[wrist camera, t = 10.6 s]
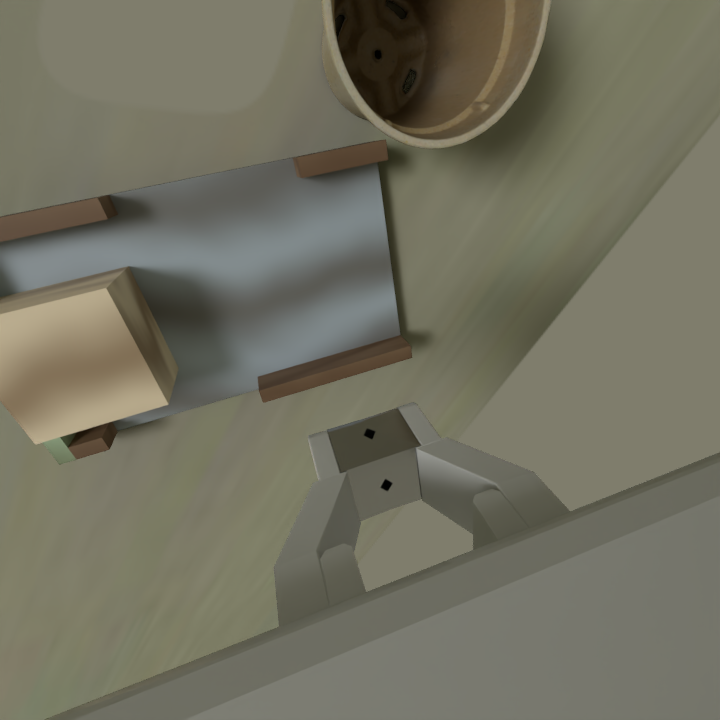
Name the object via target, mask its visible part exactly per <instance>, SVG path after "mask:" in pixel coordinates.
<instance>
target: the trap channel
mask: <svg viewBox="0 0 720 720" xmlns="http://www.w3.org/2000/svg"><path fill="white" fill-rule="evenodd" d="M385 160H388V153H387V144H386V140H380V141H373V142H367V143H362V144H357V145H352V146H347V147H342V148H338V149H333V150H328V151H323V152H318V153H313V154H308V155H303V156H298V157H293V158H288V159H283V160H278V161H273V162H268V163H263V164H258V165H253V166H248V167H243V168H239V169H234V170H229V171H224V172H219V173H214V174H209V175H204V176H199V177H194V178H189V179H184V180H179V181H174V182H169V183H164V184H159V185H154V186H149V187H144V188H139V189H135V190H130V191H125V192H120V193H115V194H110V195H105V196H100V197H95V198H90V199H85V200H80V201H75V202H70V203H65V204H60V205H55V206H50V207H45V208H40V209H36V210H31V211H26V212H21V213H16V214H11V215H6V216H1V217H0V297H3V296H7V295H11V294H15V293H19V292H24V291H28V290H32V289H36V288H40V287H44V286H48V285H53V284H57V283H61V282H65V281H69V280H73V279H77V278H82V277H86V276H90V275H94V274H98V273H102V272H106V271H111V270H115V269H119V268H123V267H127V266H129V268H130V270H131V272H132V274H133V276H134V278H135V280H136V282H137V284H138V286H139V288H140V290H141V292H142V294H143V296H144V298H145V300H146V302H147V305H148V307H149V309H150V311H151V313H152V315H153V317H154V319H155V321H156V323H157V325H158V327H159V329H160V331H161V333H162V335H163V337H164V339H165V341H166V343H167V345H168V347H169V349H170V351H171V353H172V356H173V358H174V360H175V362H176V364H177V366H178V368H179V369H178V372H177V376H176V380H175V383H174V387H173V390H172V394H171V398H170V401H169V405H166V406H162V407H159V408H156V409H152V410H149V411H146V412H142V413H139V414H136V415H132V416H129V417H126V418H122V419H119V420H116V421H112V422H109V423H106V424H102V425H99V426H96V427H92V428H89V429H86V430H82V431H79V432H76V433H72V434H69V435H66V436H62V437H59V438H56V439H52V440H49V441H46V442H42V443H43V444H44V445H45V447H46V448H47V449H48V451H49V452H50V453H51V454H52V456H53V457H54V458H55V460H56V461H57V462H58V463H59V465H60V464H63V463H66V462H70V461H73V460H76V459H80V458H83V457H86V456H90V455H93V454H96V453H99V452H103V451H106V450H109V449H110V447H111V445H112V443H113V440H114V438H115V436H116V434H117V431H119V430H122V429H126V428H129V427H132V426H136V425H139V424H142V423H146V422H149V421H152V420H156V419H159V418H163V417H166V416H169V415H173V414H176V413H179V412H183V411H186V410H190V409H193V408H196V407H200V406H203V405H206V404H210V403H213V402H216V401H220V400H223V399H227V398H230V397H233V396H237V395H240V394H243V393H247V392H250V391H254V390H257V389H259V392H260V395H261V398H262V401H263V403H264V402H268V401H271V400H274V399H278V398H281V397H284V396H287V395H291V394H294V393H297V392H301V391H304V390H307V389H310V388H314V387H317V386H320V385H324V384H327V383H330V382H334V381H337V380H340V379H343V378H347V377H350V376H353V375H357V374H360V373H363V372H367V371H370V370H373V369H376V368H380V367H383V366H386V365H390V364H393V363H396V362H400V361H403V360H406V359H409V358H412V353H411V346H410V345H409V343H408V342H407V341H406V340H405V339H404V338H403V337H402V336H401V335H400V328H399V320H398V313H397V305H396V298H395V290H394V283H393V275H392V268H391V260H390V253H389V245H388V238H387V230H386V223H385V215H384V208H383V200H382V192H381V185H380V177H379V170H378V162H380V161H385Z"/></svg>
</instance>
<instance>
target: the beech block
mask: <svg viewBox="0 0 720 720" xmlns="http://www.w3.org/2000/svg"><path fill="white" fill-rule="evenodd" d="M178 369H179V368H178V366H177V364H176V362H175V360H174V358H173V356H172V353H171V351H170V349H169V347H168V345H167V343H166V341H165V339H164V337H163V335H162V333H161V331H160V329H159V327H158V325H157V323H156V321H155V319H154V317H153V315H152V313H151V311H150V309H149V307H148V305H147V302H146V300H145V298H144V296H143V294H142V292H141V290H140V288H139V286H138V284H137V282H136V280H135V278H134V276H133V274H132V272H131V270H130V268H129V266H127V267H123V268H119V269H115V270H111V271H106V272H102V273H98V274H94V275H90V276H86V277H82V278H77V279H73V280H69V281H65V282H61V283H57V284H53V285H48V286H44V287H40V288H36V289H32V290H28V291H24V292H19V293H15V294H11V295H7V296H3V297H0V401H1V402H2V403H3V405H4V406H5V407H6V408H7V410H8V411H9V412H10V413H11V415H12V416H13V417H14V418H15V420H16V421H17V422H18V423H19V425H20V426H21V427H22V428H23V430H24V431H25V432H26V433H27V435H28V436H29V437H30V438H31V440H32V441H33V442H34V443H35V445H36V444H39V443H42V442H46V441H49V440H52V439H56V438H59V437H62V436H66V435H69V434H72V433H76V432H79V431H82V430H86V429H89V428H92V427H96V426H99V425H102V424H106V423H109V422H112V421H116V420H119V419H122V418H126V417H129V416H132V415H136V414H139V413H142V412H146V411H149V410H152V409H156V408H159V407H162V406H166V405H169V401H170V398H171V394H172V390H173V387H174V383H175V380H176V376H177V372H178Z"/></svg>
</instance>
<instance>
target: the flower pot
mask: <svg viewBox="0 0 720 720" xmlns="http://www.w3.org/2000/svg"><path fill="white" fill-rule="evenodd" d="M386 1H387V0H322V12H323V22H324V32H323V39H322V57H323V64H324V69H325V73H326V76H327V80H328V82H329V84H330V87H331V89H332V91H333V93H334V94H335V96H336V98H337V99H338V100H339V101H340V102H341V104H342V105H343V106H344V107H345V108H346V109H348V110H349V111H350V112H351V113H353V114H355V115H356V116H358V117H360V118H363V119H366V120H369V121H370V122H371V123H372V124H373V125H374V126H375V127H376V128H378V129H379V130H380V131H382V132H383V133H384V134H386V135H387V136H389V137H391V138H393V139H395V140H397V141H399V142H402V143H404V144H406V145H410V146H414V147H418V148H426V149H439V148H447V147H452V146H455V145H459V144H462V143H465V142H467V141H469V140H471V139H473V138H475V137H476V136H478V135H480V134H482V133H483V132H485V131H486V130H487V129H489V128H490V127H491V126H492V125H494V124H495V123H496V122H497V121H498V120H499V119H500V118H501V117H502V116H503V115H504V114H505V113H506V112H507V110H508V109H509V108H510V107H511V106H512V104H513V103H514V102H515V101H516V100H517V98H518V97H519V95H520V93H521V92H522V90H523V88H524V87H525V85H526V83H527V81H528V79H529V77H530V76H531V73H532V70H533V69H534V66H535V64H536V62H537V59H538V56H539V53H540V51H541V48H542V44H543V41H544V38H545V33H546V28H547V21H548V17H549V13H550V6H551V0H388V1H390V2H394V3H395V4H396V5H398V6H400V7H401V8H402V9H403V10H404V11H405V13H406V15H407V16H406V18H404V19H400V18H399V17H398V16H397V14H396V13H395V12H394V11H392V10H391V9H390V8H388V7H387V5H386ZM341 14H342V15H344V17H345V20H344V22H343V24H342V26H341V29H340V32H339V35H338V38H337V36H336V29H335V19H336V17H337V16H339V15H341ZM376 50H379V51H381V53H382V56H381V58H380V59H376V58H375V55H374V52H375V51H376ZM410 70H414V71H415V73H416V77H415V80H414V82H413V84H412V85H411V86H410V88H409V91H408V92H406V93H405V92H404V91H403V90H402V87H403V85H404V83H405V80H406V78H407V77H408V74H409V71H410Z"/></svg>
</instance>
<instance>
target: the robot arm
mask: <svg viewBox="0 0 720 720" xmlns="http://www.w3.org/2000/svg"><path fill="white" fill-rule="evenodd" d="M308 441H309V445H310V449H311V453H312V457H313V461H314V465H315V469H316V473H317V476H318V480H319V481H317V482H314V483H313V484H312V486H311V488H310V491H309V493H308V495H307V497H306V499H305V501H304V503H303V506H302V508H301V510H300V512H299V514H298V516H297V518H296V521H295V523H294V525H293V527H292V529H291V531H290V534H289V536H288V538H287V540H286V542H285V544H284V546H283V549H282V551H281V553H280V555H279V557H278V559H277V561H276V564H275V566H274V576H275V587H276V598H277V609H278V621H279V627H277V628H275V629H272V630H270V631H267V632H264V633H262V634H259V635H257V636H254V637H252V638H249V639H247V640H244V641H242V642H239V643H237V644H234V645H232V646H229V647H227V648H224V649H221V650H219V651H216V652H214V653H211V654H209V655H206V656H204V657H201V658H199V659H196V660H194V661H191V662H189V663H186V664H184V665H181V666H178V667H176V668H173V669H171V670H168V671H166V672H163V673H161V674H158V675H156V676H153V677H151V678H148V679H146V680H143V681H141V682H138V683H135V684H133V685H130V686H128V687H125V688H123V689H120V690H118V691H115V692H113V693H110V694H108V695H105V696H103V697H100V698H98V699H95V700H92V701H90V702H87V703H85V704H82V705H80V706H77V707H75V708H72V709H70V710H67V711H65V712H62V713H60V714H57V715H55V716H52V717H49V718H47V719H44V720H720V453H717V454H714V455H712V456H709V457H707V458H704V459H702V460H699V461H697V462H694V463H692V464H689V465H687V466H684V467H682V468H679V469H677V470H674V471H671V472H669V473H667V474H664V475H662V476H659V477H656V478H654V479H651V480H649V481H647V482H644V483H641V484H639V485H636V486H634V487H631V488H628V489H626V490H623V491H621V492H618V493H616V494H613V495H611V496H608V497H606V498H603V499H601V500H598V501H596V502H593V503H591V504H588V505H586V506H583V507H580V508H578V509H575V510H573V511H569V510H568V509H567V507H566V506H565V505H564V504H563V503H562V502H561V501H560V500H559V499H558V498H557V497H556V496H555V495H554V493H553V492H552V491H551V490H550V489H549V488H548V487H547V486H546V485H545V484H544V482H542V480H541V479H540V478H539V477H538V476H537V475H536V474H535V473H534V472H533V471H530V470H528V469H525V468H523V467H520V466H518V465H515V464H513V463H510V462H508V461H505V460H503V459H500V458H498V457H495V456H492V455H490V454H488V453H485V452H483V451H480V450H477V449H475V448H473V447H470V446H467V445H465V444H462V443H460V442H458V441H455V440H453V439H450V438H447V437H446V438H443V439H441V437H440V436H439V434H438V433H437V432H436V430H435V429H434V427H433V426H432V425H431V423H430V422H429V421H428V419H427V418H426V416H425V415H424V414H423V412H422V411H421V409H420V408H419V407H418V405H417V404H416V403H414V402H412V403H409V404H406V405H403V406H400V407H397V408H396V409H392V410H389V411H386V412H383V413H380V414H377V415H374V416H371V417H368V418H365V419H362V420H358V421H355V422H352V423H348V424H345V425H341V426H338V427H335V428H331V429H328V430H327V431H322V432H319V433H316V434H312V435H309V436H308ZM420 499H422V500H423V501H424V502H426V503H427V504H429V505H430V506H431V507H433V508H434V509H436V510H438V511H439V512H440V513H442V514H443V515H445V516H446V517H448V518H449V519H451V520H452V521H454V522H455V523H457V524H458V525H460V526H461V527H463V528H465V529H466V530H467V531H469V532H470V533H472V534H473V550H472V551H470V552H467V553H465V554H462V555H460V556H457V557H454V558H452V559H450V560H447V561H444V562H442V563H439V564H437V565H434V566H432V567H430V568H427V569H424V570H421V571H419V572H416V573H414V574H411V575H409V576H406V577H404V578H401V579H399V580H396V581H394V582H391V583H389V584H386V585H383V586H381V587H378V588H376V589H373V590H371V591H368V592H366V591H365V587H364V584H363V581H362V577H361V574H360V571H359V568H358V564H357V561H356V558H355V555H354V550H355V546H356V541H357V537H358V533H359V529H360V525H361V522H360V521H362V520H365V519H367V518H370V517H372V516H375V515H377V514H380V513H383V512H385V511H388V510H390V509H393V508H396V507H399V506H402V505H405V504H408V503H411V502H414V501H417V500H420Z"/></svg>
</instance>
